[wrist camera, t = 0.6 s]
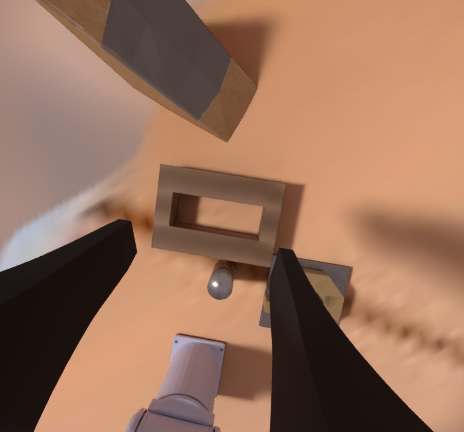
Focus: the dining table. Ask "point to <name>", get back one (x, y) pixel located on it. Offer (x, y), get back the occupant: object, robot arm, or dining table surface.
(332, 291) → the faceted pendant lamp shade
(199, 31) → the sandwich container
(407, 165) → the dining table surface
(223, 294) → the pin
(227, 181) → the slot block
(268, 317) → the nut base
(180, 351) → the robot arm
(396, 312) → the dining table surface
